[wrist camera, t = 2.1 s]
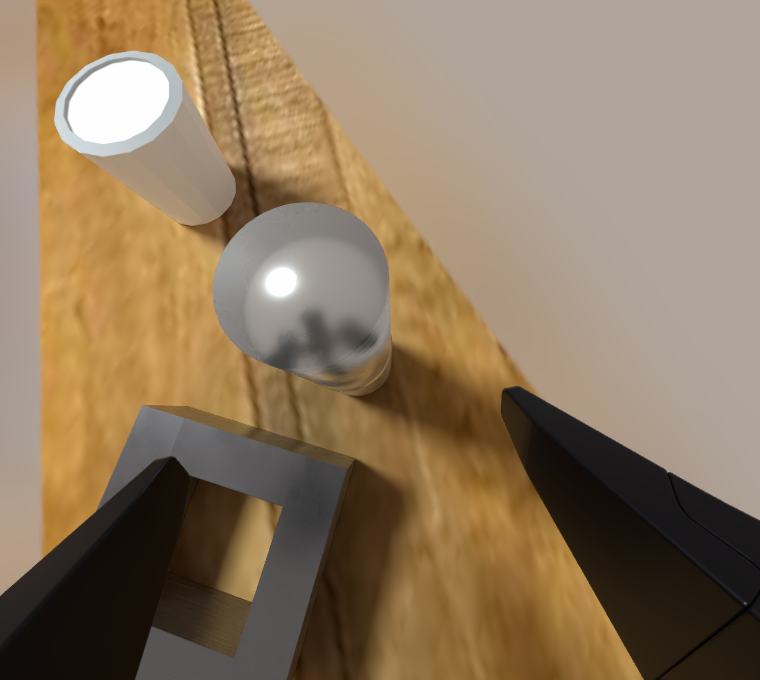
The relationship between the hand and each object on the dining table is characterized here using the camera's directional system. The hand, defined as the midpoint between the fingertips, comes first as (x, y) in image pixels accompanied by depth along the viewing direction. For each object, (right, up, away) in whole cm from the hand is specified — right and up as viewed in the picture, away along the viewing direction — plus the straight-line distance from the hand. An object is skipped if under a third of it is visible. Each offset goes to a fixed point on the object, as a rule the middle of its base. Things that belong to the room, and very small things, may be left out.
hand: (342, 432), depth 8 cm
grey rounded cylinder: (0, +1, +11) cm, 11 cm away
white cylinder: (-12, +13, +15) cm, 23 cm away
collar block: (-7, -8, +9) cm, 14 cm away
